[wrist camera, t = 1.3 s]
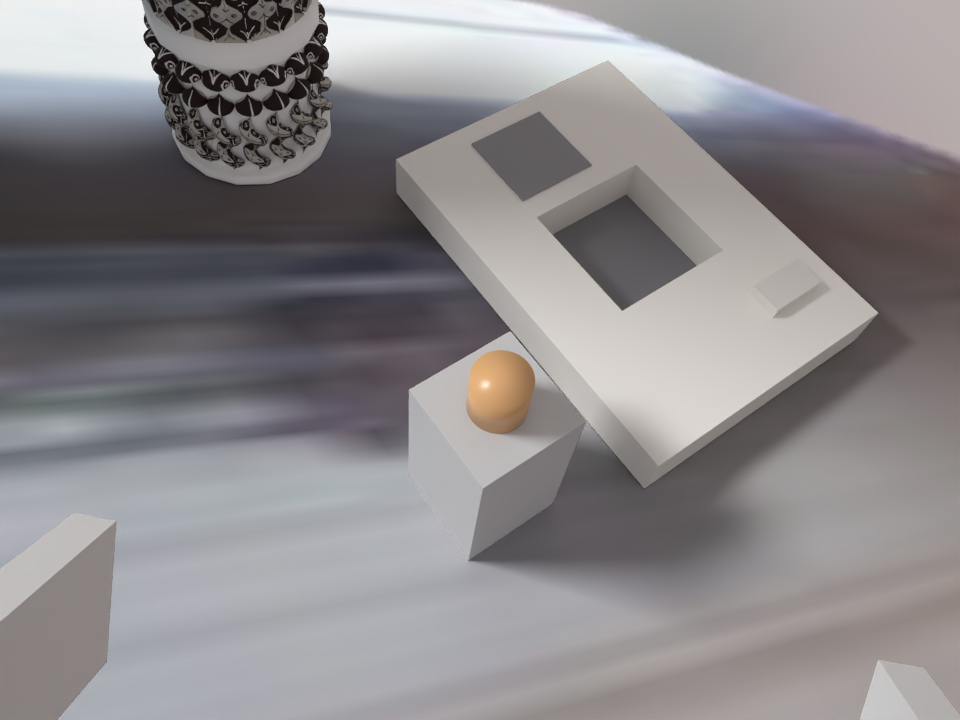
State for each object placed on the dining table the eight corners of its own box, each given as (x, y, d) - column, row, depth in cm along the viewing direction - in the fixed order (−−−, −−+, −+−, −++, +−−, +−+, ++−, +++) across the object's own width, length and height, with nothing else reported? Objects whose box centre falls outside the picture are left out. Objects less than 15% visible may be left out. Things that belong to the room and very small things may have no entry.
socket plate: (396, 192, 46) (395, 150, 43) (599, 94, 50) (610, 51, 48) (644, 488, 38) (662, 460, 35) (854, 340, 43) (884, 305, 40)
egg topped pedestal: (408, 476, 38) (409, 361, 29) (492, 425, 39) (515, 301, 31) (468, 560, 36) (487, 464, 27) (553, 503, 37) (596, 395, 29)
